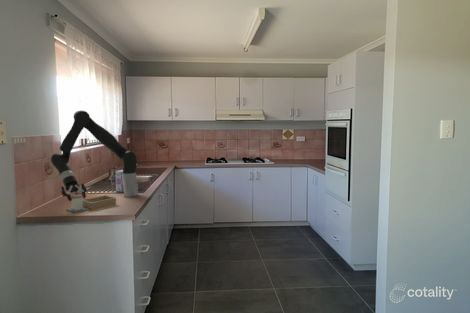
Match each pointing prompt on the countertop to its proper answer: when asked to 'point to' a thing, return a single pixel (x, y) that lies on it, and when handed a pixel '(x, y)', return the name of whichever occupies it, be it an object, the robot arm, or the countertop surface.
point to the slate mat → (77, 210)
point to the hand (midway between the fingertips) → (77, 199)
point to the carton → (99, 202)
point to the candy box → (119, 181)
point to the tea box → (77, 202)
